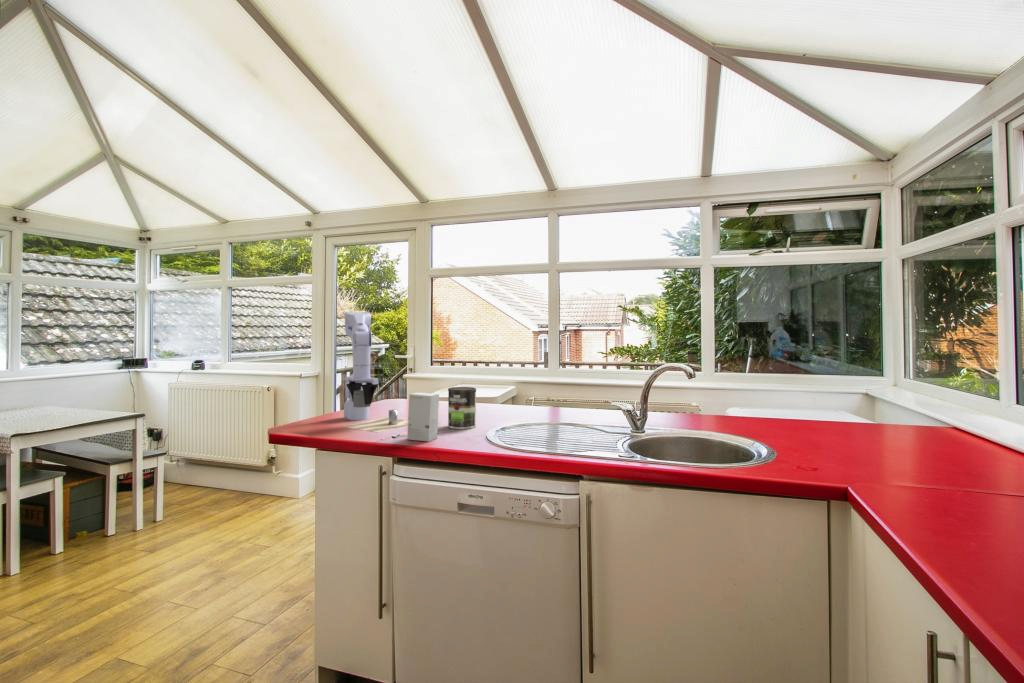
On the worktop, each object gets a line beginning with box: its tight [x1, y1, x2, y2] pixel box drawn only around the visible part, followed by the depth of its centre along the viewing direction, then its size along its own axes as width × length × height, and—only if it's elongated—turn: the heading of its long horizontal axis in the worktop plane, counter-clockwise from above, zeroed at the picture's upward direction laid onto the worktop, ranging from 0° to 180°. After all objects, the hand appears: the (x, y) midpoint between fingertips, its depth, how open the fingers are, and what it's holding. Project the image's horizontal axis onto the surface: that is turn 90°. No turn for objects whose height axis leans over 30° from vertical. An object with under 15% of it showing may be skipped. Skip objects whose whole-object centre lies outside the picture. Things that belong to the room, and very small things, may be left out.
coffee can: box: [447, 386, 477, 430], centre depth 174 cm, size 10×10×14 cm
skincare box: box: [407, 392, 440, 442], centre depth 154 cm, size 8×6×15 cm
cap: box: [353, 390, 372, 408], centre depth 168 cm, size 6×6×6 cm
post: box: [388, 409, 398, 425], centre depth 171 cm, size 3×3×6 cm
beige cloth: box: [341, 417, 408, 433], centre depth 170 cm, size 18×21×2 cm
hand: (362, 403), depth 168 cm, fingers closed on cap, 6 cm apart
